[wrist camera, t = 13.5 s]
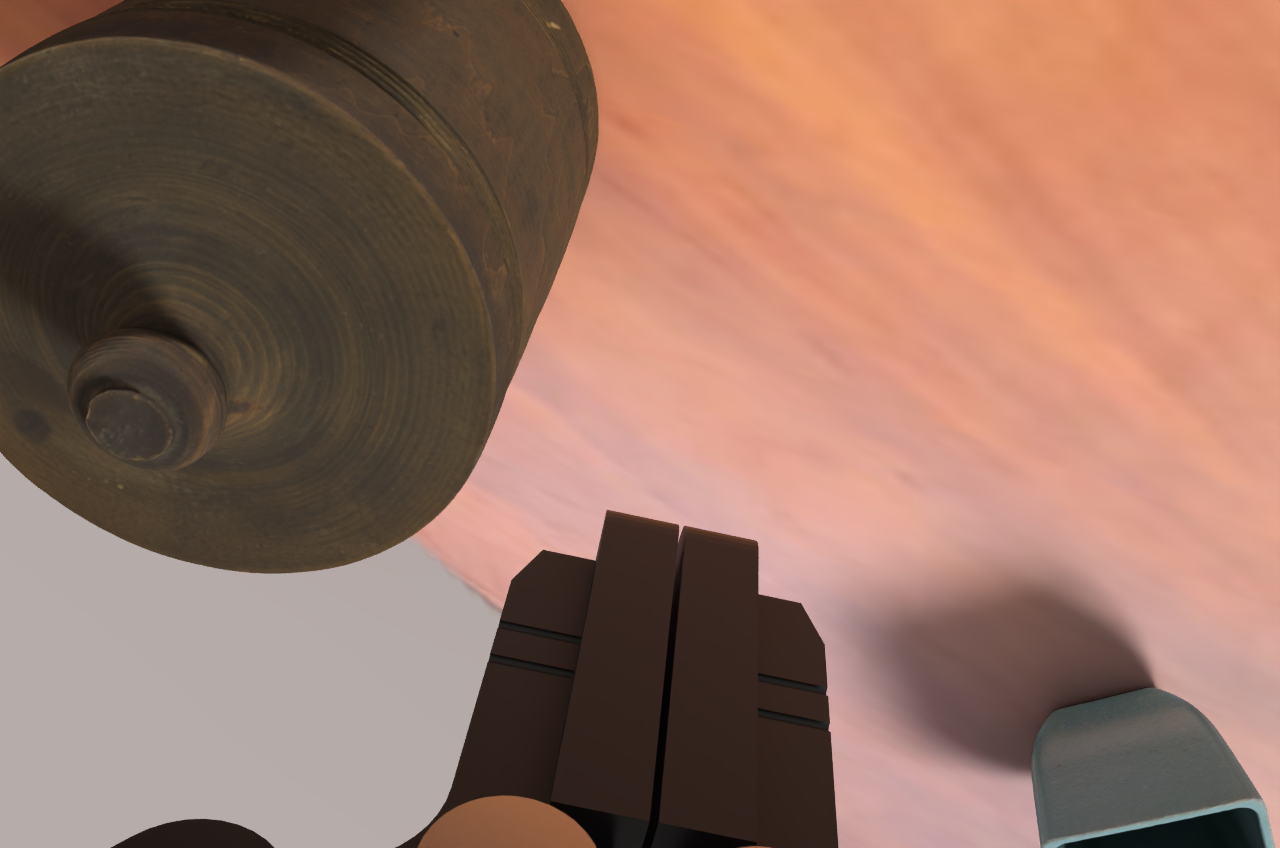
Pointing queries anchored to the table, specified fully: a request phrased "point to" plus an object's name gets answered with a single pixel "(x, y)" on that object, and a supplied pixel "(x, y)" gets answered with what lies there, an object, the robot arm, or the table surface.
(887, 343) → the table surface
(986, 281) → the table surface
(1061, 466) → the table surface
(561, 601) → the robot arm
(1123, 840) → the flower pot
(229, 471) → the wooden container
